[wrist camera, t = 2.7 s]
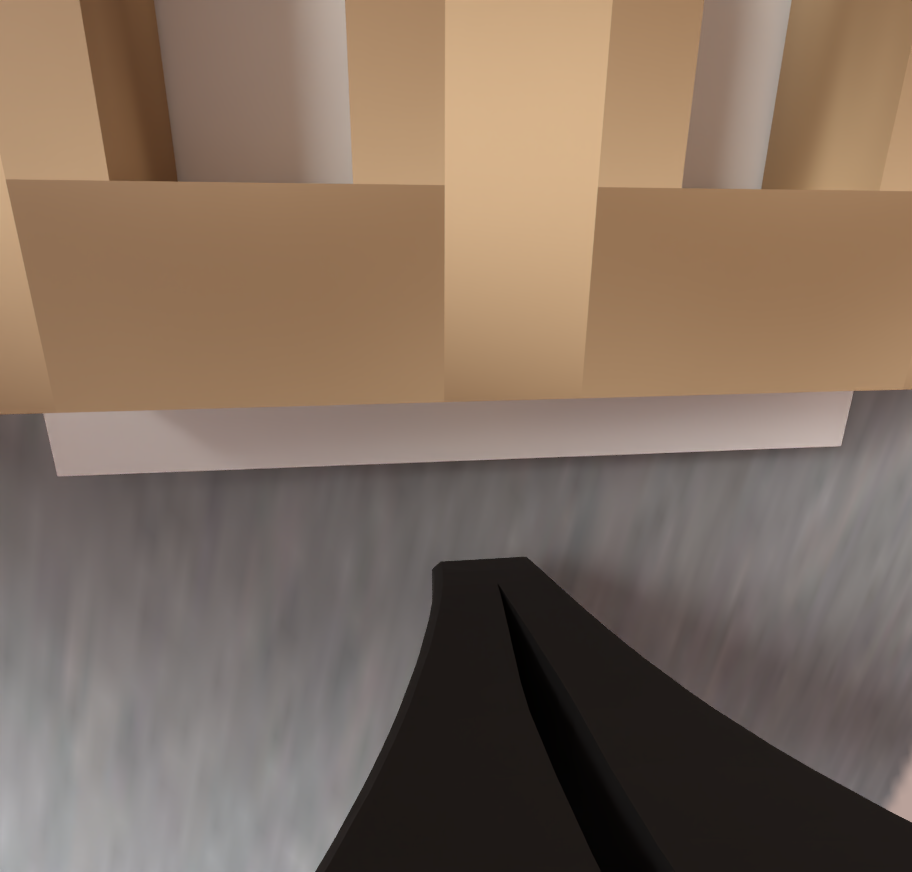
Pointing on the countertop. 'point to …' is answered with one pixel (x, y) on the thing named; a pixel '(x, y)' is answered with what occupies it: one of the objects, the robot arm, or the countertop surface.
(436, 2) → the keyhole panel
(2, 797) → the countertop surface
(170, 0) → the mounting plate
